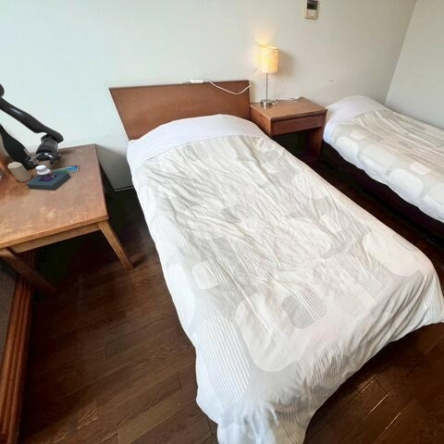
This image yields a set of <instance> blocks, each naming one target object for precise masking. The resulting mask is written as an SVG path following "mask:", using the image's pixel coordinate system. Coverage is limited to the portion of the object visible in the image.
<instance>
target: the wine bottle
mask: <svg viewBox="0 0 444 444" xmlns="http://www.w3.org/2000/svg"><path fill="white" fill-rule="evenodd" d="M0 137H1V142H2V146H3V149H4V150H5V152H6V154H7V155H8V156H9V157H10V158H11V160H12V161H13V162H18V163H21V164H22V165H23V167H24V168H25V169H26V170H27V171H28V170H32V169H34V168H36V167H37V166H38V163H36V164H34V166H33V167H32V168H31V167H29V165H28V164H27V163H26V162H25V159H26V157H27V156H28V155H30V156H31V157H32V155H31V153H30V152H29V151H28V149H27V148H26V146H25V145H24V144H22V142H20V141H19V140H18V139H16V138H15V137H14V136H12V135H11V134H10V133H8V131H7V130H6V129H5V127H4V125H2V123H1V122H0ZM33 162H34V160H33Z"/></svg>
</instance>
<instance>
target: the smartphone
mask: <svg viewBox="0 0 444 444" xmlns="http://www.w3.org/2000/svg"><path fill="white" fill-rule="evenodd" d="M49 170H50V171H51V172H63V173H76V172H78V171H79V165H72V166H66V167H60V168H54V169H49Z"/></svg>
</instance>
